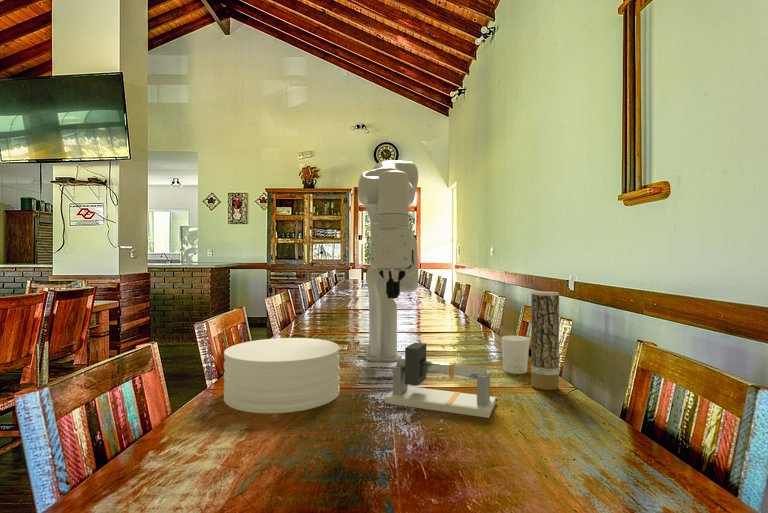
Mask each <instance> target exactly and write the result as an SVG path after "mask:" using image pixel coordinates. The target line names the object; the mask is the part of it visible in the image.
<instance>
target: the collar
mask: <svg viewBox="0 0 768 513" xmlns="http://www.w3.org/2000/svg"><path fill="white" fill-rule="evenodd" d="M404 355H405V356H404V359H405V384H406V385H408V386H413V387H419V385H421V383H422V382H424V381H425V380H426V379H427V374H420V373H419V361H427V343H426V342H413V343H412V344H410V345H408V346H406V347H405V348H404Z"/></svg>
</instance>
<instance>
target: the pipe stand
mask: <svg viewBox="0 0 768 513" xmlns="http://www.w3.org/2000/svg"><path fill="white" fill-rule="evenodd" d="M490 384H491V371H489V370H487V373H486V374H485V375H477V380H476V394H475V393H465V392H460V394H459V395H458V396H457V398H456V399H455V400H454V401H453V403H452V404H451V405H450V406H449V405H445V404H446V402H447V401H448V400H449V399H450V398H451V396H452V395H453V394H454V393H455V392H456V391H449V390H442V389H434V388H424V387H419V386H411V385H406V384H405V372H403V370H402V367H400V366H396V364H395V365H393V366H392V390H391V391H390V392H388V394H386V395H385V396H384V404H388V405H396V406H403V407H408V408H409V407H410V408H418V409H424V410H430V411H438V412H444V413H451V414H460V415H465V416H473V417H481V418H487V419H489V418H490V416H491V414H492V412H493V410H494V408H495V405H496V404H497V398H496V397H497V396H491V390H490V389H491V385H490Z"/></svg>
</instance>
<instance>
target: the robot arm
mask: <svg viewBox="0 0 768 513" xmlns="http://www.w3.org/2000/svg"><path fill="white" fill-rule="evenodd" d="M418 183H419V171H418V167H417V165H416V164H415V163H414V162H413V161H410V160H409V161H407V160H404V161H403V160H382V161H379V162H377V163H376V164H375V165H374V167H373V168H372V170H367V171H365V172H362V173H361V174H360V176H359V179H358V184H357V195H358V200H359V202H360V204H362V205H363V206H364V207H365V209H366V212H367V215H368V217H369V218H368V219H369V223H370V267H369V268H368V269H367V271H366V283H367V285H366V286H367V291H368V316H369V317H368V343H367V344H366V343H359V344H358V350H359V351H365V352H364V355H363V356H364V359H365V360H367V361H370V362H371V361H372V362H379V363H381V362H383V363H385V362H388V363H389V362H397V360H398V358H400V359H403V358H402V356H403V355H402V353H401V352H398V306H397V302H396V301H395V299H398V298H399V295H400V294H401V293H413V292H416V291H417V289H418V287H419V254H418V242H417V239H416V237H415V235H413V231H412V228H410V227H409V221H410V220H409V210H410V209H409V206H410V205H412V204H413V202H414V201H415V197H416V191H417V187H418Z"/></svg>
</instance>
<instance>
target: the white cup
mask: <svg viewBox="0 0 768 513" xmlns="http://www.w3.org/2000/svg"><path fill="white" fill-rule="evenodd" d="M529 347H530V338H529V337H526V336H522V335H504V336H502V337H501V352H502V353H501V354H502V362H503V364H502V368H503V372H505V373H506V374H507V373H508V374H512V375H524V374H527V372H528V362H529V349H530V348H529Z"/></svg>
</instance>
